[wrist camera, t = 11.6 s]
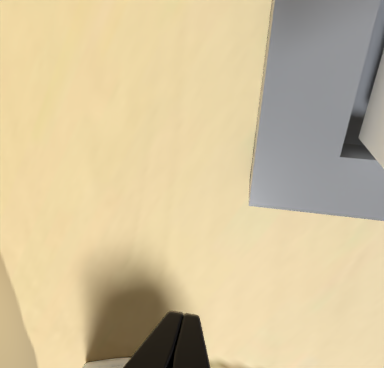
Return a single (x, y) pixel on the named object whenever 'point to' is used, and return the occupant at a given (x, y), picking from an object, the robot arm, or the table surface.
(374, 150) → the plug
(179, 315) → the robot arm
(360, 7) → the socket
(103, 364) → the syrup box
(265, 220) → the table surface
